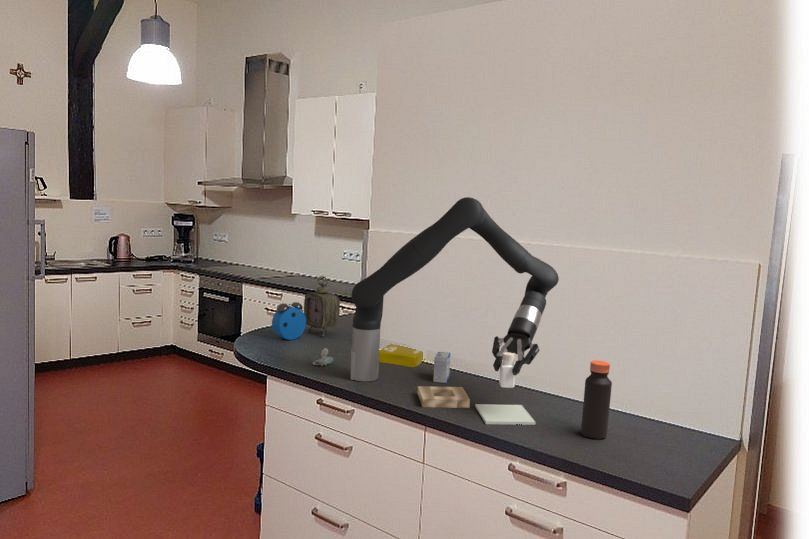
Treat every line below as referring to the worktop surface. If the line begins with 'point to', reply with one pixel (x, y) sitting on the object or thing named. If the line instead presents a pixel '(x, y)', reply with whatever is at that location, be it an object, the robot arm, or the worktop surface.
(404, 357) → the element tile
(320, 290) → the tabletop clock
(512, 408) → the sage trivet
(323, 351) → the pacifier
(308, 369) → the worktop surface
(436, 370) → the medicine box
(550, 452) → the worktop surface
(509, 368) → the salt shaker
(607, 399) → the bottle
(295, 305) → the alarm clock
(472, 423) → the worktop surface
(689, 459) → the worktop surface
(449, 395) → the oak holder
